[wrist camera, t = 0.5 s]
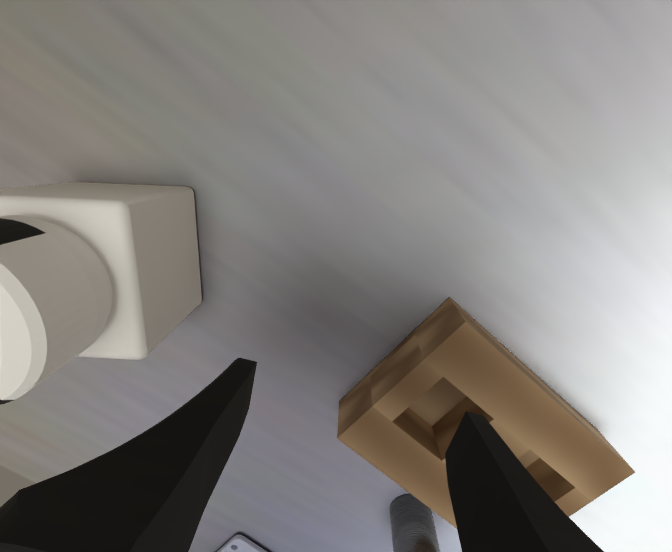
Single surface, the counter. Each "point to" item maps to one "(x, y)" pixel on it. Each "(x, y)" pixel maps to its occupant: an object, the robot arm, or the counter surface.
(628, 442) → the counter surface
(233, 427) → the robot arm
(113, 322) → the medicine bottle
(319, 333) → the counter surface
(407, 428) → the hole block
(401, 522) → the steel pin
